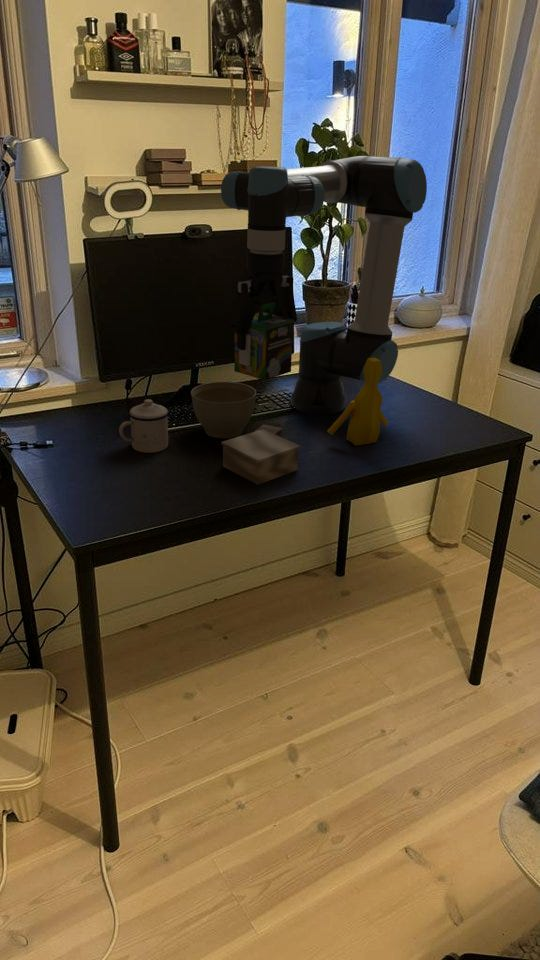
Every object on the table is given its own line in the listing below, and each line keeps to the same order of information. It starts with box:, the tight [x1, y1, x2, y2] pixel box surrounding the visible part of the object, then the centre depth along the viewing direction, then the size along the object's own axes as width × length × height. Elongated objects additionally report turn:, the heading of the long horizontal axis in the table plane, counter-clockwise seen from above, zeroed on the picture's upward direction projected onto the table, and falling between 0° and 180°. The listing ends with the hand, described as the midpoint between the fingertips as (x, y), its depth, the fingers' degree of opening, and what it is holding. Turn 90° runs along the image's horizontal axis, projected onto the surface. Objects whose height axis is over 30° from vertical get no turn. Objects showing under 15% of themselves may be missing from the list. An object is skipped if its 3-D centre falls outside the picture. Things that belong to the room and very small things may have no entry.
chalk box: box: [233, 302, 295, 381], centre depth 153 cm, size 9×9×15 cm
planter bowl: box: [190, 381, 257, 439], centre depth 182 cm, size 16×16×11 cm
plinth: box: [220, 429, 302, 485], centre depth 164 cm, size 13×13×6 cm
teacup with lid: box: [118, 398, 169, 454], centre depth 172 cm, size 12×9×12 cm
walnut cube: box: [253, 424, 283, 438], centre depth 175 cm, size 5×5×5 cm
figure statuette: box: [326, 357, 389, 446], centre depth 177 cm, size 18×8×22 cm, turn 116°
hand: (262, 360), depth 155 cm, fingers closed on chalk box, 9 cm apart
